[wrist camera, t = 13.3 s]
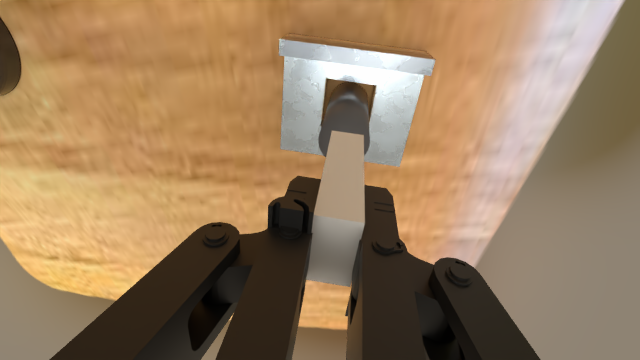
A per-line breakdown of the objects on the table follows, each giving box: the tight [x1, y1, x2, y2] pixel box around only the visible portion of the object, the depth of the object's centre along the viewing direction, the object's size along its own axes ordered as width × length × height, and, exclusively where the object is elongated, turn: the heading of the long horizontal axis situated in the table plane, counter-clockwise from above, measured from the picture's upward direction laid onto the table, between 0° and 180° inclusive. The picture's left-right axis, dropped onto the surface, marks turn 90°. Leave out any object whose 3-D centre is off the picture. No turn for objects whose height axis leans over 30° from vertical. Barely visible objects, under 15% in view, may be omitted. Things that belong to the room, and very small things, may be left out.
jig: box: [279, 33, 435, 167], centre depth 38 cm, size 16×14×6 cm
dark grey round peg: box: [318, 82, 370, 157], centre depth 35 cm, size 5×5×13 cm
